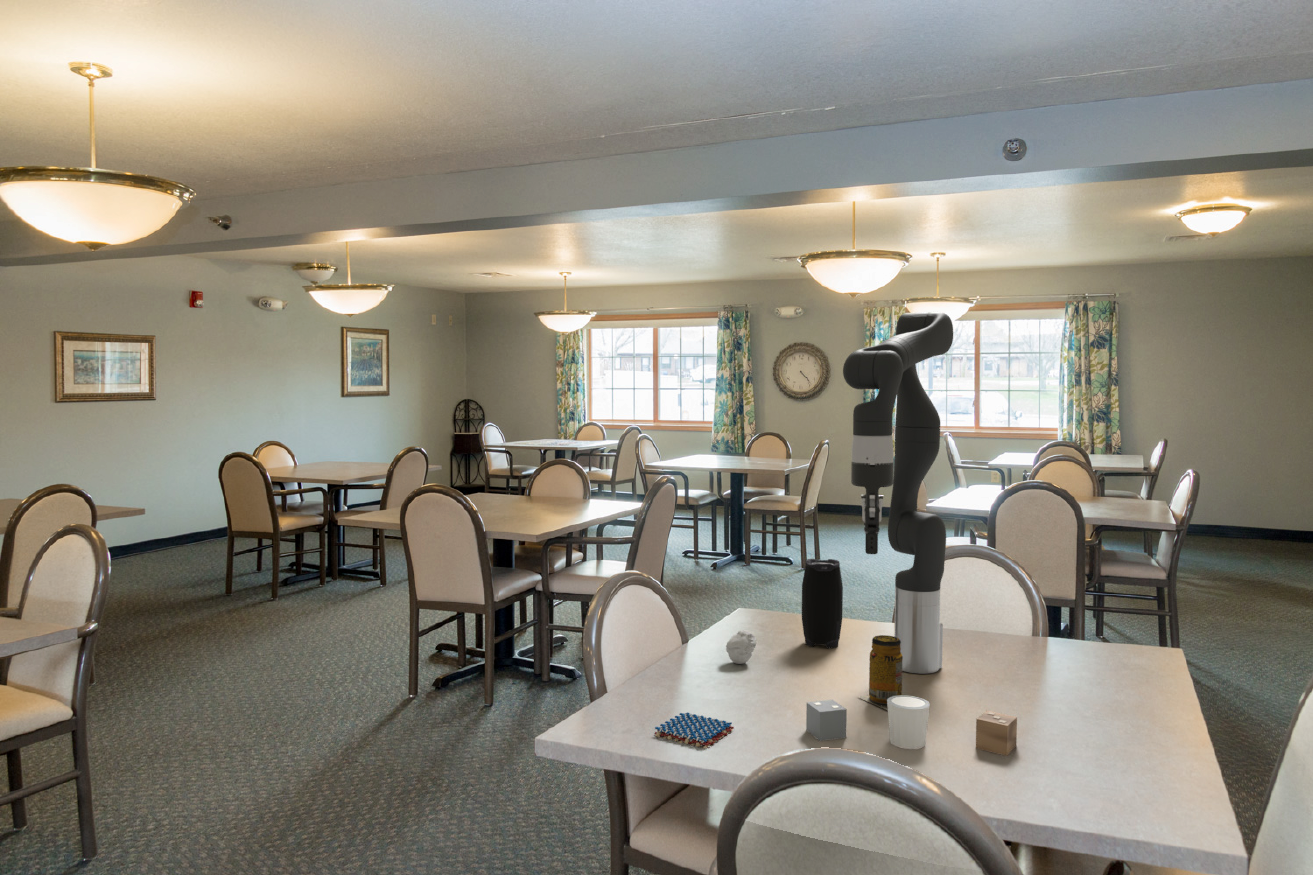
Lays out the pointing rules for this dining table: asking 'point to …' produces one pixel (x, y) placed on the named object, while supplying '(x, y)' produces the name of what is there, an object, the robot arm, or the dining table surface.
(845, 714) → the slate dotted block
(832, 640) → the portable speaker
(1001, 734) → the walnut dotted block
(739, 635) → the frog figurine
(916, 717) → the shot glass
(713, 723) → the woven mat
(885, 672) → the condiment
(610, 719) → the dining table surface
